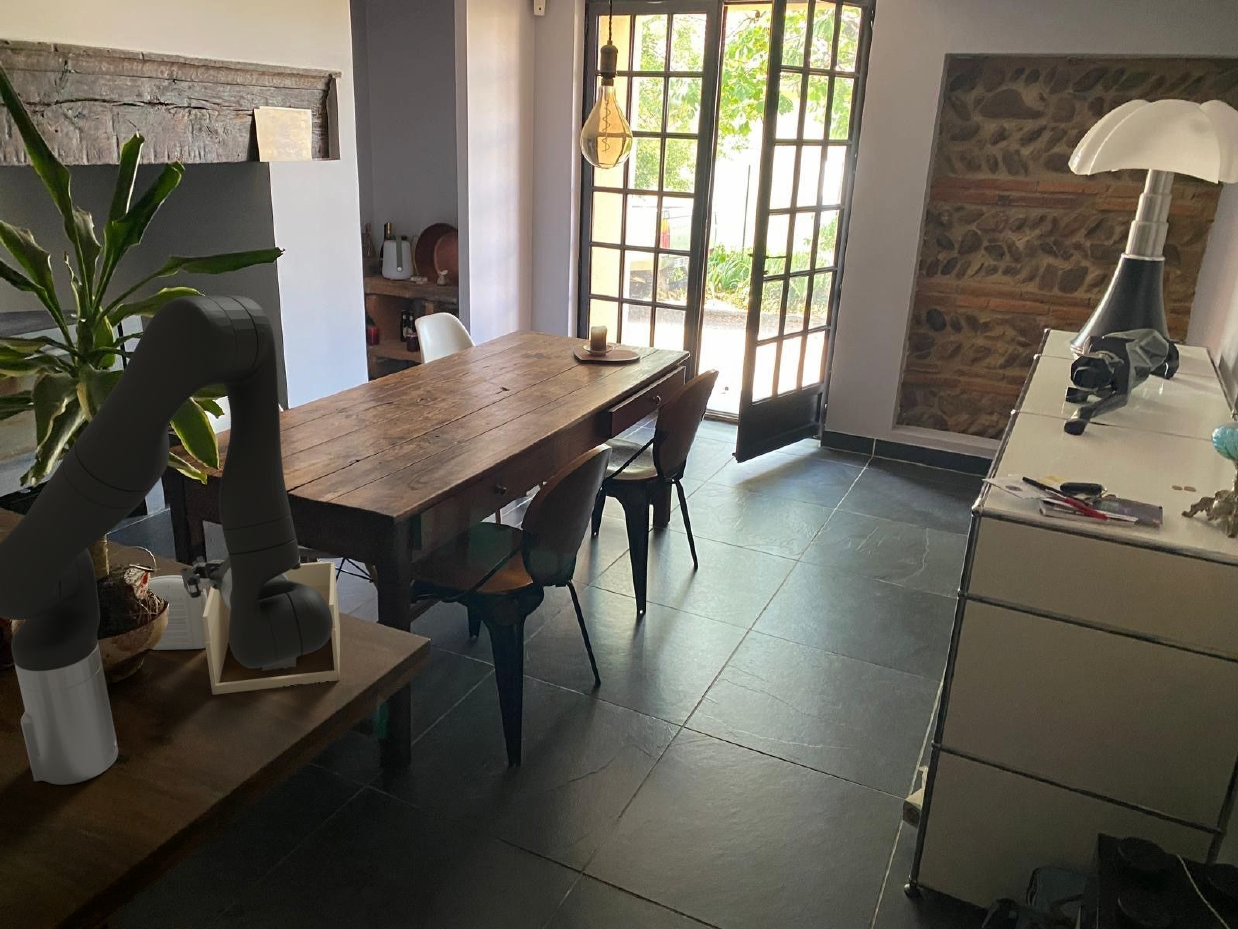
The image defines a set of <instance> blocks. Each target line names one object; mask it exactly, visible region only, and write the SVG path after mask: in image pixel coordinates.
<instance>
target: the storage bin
mask: <svg viewBox="0 0 1238 929" xmlns="http://www.w3.org/2000/svg"><path fill="white" fill-rule="evenodd" d="M300 565H301V568H299V569H297V570H292V569H290V570H289V571H287V572H285V575H286V576H287V579H288V580H289V581H293V582H297V583H301V584H304V585H307V586H309V587H311V588H313V589H314V590H316V591H317V592H318V593H319V594H320V595H321V596H322V597H323V598H324V600H325V601H326V603H327V604H328V606H329V608H330V611H331V614H332V619H333V628H332V633H331V645H332V656H333V669H334V670H325V671H318V672H317V671H316V672H308V673H299V674H289V675H281V676H280V675H279V676H273V677H272V676H271V677H262V678H254V679H252V678H251V679H246V680H243V679H242V680H236V681H227V682H225V681H224V682H221V676H222V672H223V668H224V663H225V660H226V655H227V649H228V646H229V621H230V612H231V611H230V610H229V608H228V607H226V605H225V603H224V601H223V597H222V596H221V594H220V592H219V590H216V589H214V588H212V587H209V588H210V589H209V593H208V596H207V603H206V606H205V610H204V613H203V624H204V631H205V638H206V642H205V644H206V648H205V650H206V657H207V663H208V664H207V665H208V671H209V672H208V673H209V679H210V686H211V694H212V695H220V694H221V695H223V694H230V693H240V692H248V691H257V690H265V689H276V688H283V686H285V687H291V686H290V685H294V686H296V685H295V684H303V685H311V684H318V682H320V683H326V681H329V682H336V681H340V666H341V665H340V662H341V661H340V660H341V658H340V656H341V653H340V652H341V650H340V649H341V626H340V623H341V622H340V611H339V599H338V598H339V597H338V585H337V576H336V575H337V574H336V572H337V571H336V563H335V562H332V561H328V560H327V561H320V562H317V561H316V562H306V563H300ZM315 682H316V683H315ZM310 683H311V684H310Z"/></svg>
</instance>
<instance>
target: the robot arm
mask: <svg viewBox="0 0 1238 929" xmlns="http://www.w3.org/2000/svg"><path fill="white" fill-rule="evenodd" d="M278 382H279V381H278V363H277V350H276V341H275V335H274V330H273V327H272V323H271V321H270V319H269V317H268V315H267V312H265V310H264V309H263V307H261V305H259V304H258V303H257V302H255V301H254V300H253V299H251V298H249V297H247V296H241V295H236V294H219V295H215V294H214V295H184V296H179V297H176V298H172V299H170V300H169V301H167V302H165V303H164V304H163V305H162V306H161V307H159V309H158V310H157V311H156V312H155V313H154V315H153V316H152V317H151V318H150V320H149V322H148V324H147V326H146V327H145V328H144V330H143V333H142V335H141V337H140V339H139V340H138V343H137V344H136V347H135V349H134V351H133V352H132V354H131V356H130V358H129V360H128V362H127V364H126V366H125V367H124V369H123V372H122V373H121V375H120V377H119V379H118V381H117V382H116V383H115V385H114V386H113V388H112V390H111V391H110V392H109V394H108V395H107V396H106V398H105V400H104V401H103V402H102V404H101V406H100V407H99V409H98V411H97V412H96V413H95V415H94V416H93V418H92V419H91V420H90V421H89V423H88V425H86V427H85V428H84V429H83V431H82V432H81V433H80V434H79V435H78V438H77V439H76V440H75V441H74V443H73V444H72V446H71V447H70V448H69V450H68V451H67V453H66V454H65V455H64V456H63V459H62V461H61V462H60V464H59V465H58V467H57V468H56V470H55V472H54V473H53V474H52V476H51V477H50V478H49V480H48V481H47V482H46V484H45V485H44V487H43V488H42V490H41V491H40V493H39V494H38V495H37V497H36V498H35V500H34V502H33V503H32V504H31V507H30V508H29V509H28V510H27V512H26V514H24V516H23V517H22V519H20V521H19V522H18V523H17V525H16V526H15V527H14V528H12V530H11V531H10V532H9V533H8V534H7V535H6V536H5V537H4V538H3V539H2V540H1V541H0V618H2V619H4V620H10V621H23V622H22V623H21V625H20V627H19V628H18V629H17V630H16V632H15V633H14V635H13V637H12V639H11V643H10V645H11V647H10V649H11V654H12V659H13V662H14V666H15V672H16V675H17V681H18V684H19V688H20V693H21V697H22V702H23V707H24V713H23V714H22V716H21V718H20V725H21V728H22V733H23V737H24V743H25V747H26V750H27V755H28V760H29V764H30V765H29V766H30V769H31V772H32V777H33V781H34V782H40V781H44V782H46V783H49V784H51V785H52V784H54V785H72V784H78V783H81V782H85V781H88V780H90V779H92V778H95V777H98V775H101V774H103V772H105V771H107V770H108V769H109V768H110V767H111V766H113V764H114V763H115V762H116V760H117V759H118V755H119V748H118V747H119V746H118V743H117V742H118V740H117V734H116V731H115V726H114V721H113V720H114V719H113V715H112V714H113V713H112V710H111V704H110V699H109V693H108V689H107V688H108V686H107V682H106V677H105V673H104V665H103V661H102V655H101V651H100V646H99V640H98V634H97V633H98V630H99V626H100V622H101V609H100V601H99V593H98V592H99V591H98V585H97V576H96V571H95V570H96V569H95V566H94V561H93V557H92V555H91V552H90V550H89V549H88V548H90V547H91V546H92V545H94V544H95V543H96V542H97V541H100V539H101V538H103V537H104V536H105V535H106V534H108V533H109V532H110V531H112V529H114V528H115V527H116V526H118V525H119V524H120V523H121V522H122V521H123V520H124V519H126V518H127V517H128V516H130V514H131V513H132V512H133V511H135V510H136V508H137V507H139V506H140V504H142V502H143V501H144V500H145V498H146V497H147V496H148V494H150V492H151V491H152V490H153V488H154V487H155V486H156V485H157V483H158V482H159V481H160V480H161V478H162V476H163V474H164V473H165V471H166V469H167V467H168V463H169V461H170V453H171V452H170V449H171V448H170V436H169V427H170V423H171V422H172V420H173V419H174V418H175V416H176V415H177V413H178V412H179V411H180V410H181V409H182V408H183V406H184V405H185V403H187V401H189V399H191V397H192V396H193V395H194V394H196V393H197V392H199V391H200V390H202V389H203V388H206V387H209V386H219V385H223V387H224V390H225V393H226V397H227V400H228V405H229V414H230V415H229V416H230V430H229V438H228V439H229V441H228V446H227V451H226V455H225V458H224V459H225V460H224V463H223V464H224V465H223V469H222V472H221V478H220V481H219V488H218V512H219V519H220V523H221V528H222V532H223V537H224V542H225V546H226V551H227V554H228V557H226V558H225V559H212V560H210V561H208V562H206V561H205V559H204V557H203V555H200V556H197V557H196V560H193V562H192V569H191V568H190V567H183V568H182V569H180V570H179V573H180V574H181V575H180V576H182V578H183V582H184V588H185V589H186V591H187V592H188V593H189V595H190V596H191V598H197V597H199V596H201V593H202V592H203V589H206V590H207V589H209V588H211V587H212V588H214V589H216V590H219V592H220V594H221V596H222V597H223V601H224V603H225V605H226V607H228V608H229V610H230V611H231V612H230V621H229V643H228V645H229V648H230V651H231V653H232V655H233V657H234V658H235V659H236V661H238V662H239V664H240V665H242V666H244V667H246V668H248V669H259V668H262V667H264V666H267V665H270V664H274V663H277V662H280V661H284V660H287V659H290V658H294V657H297V658H298V657H300V656H304V655H307V654H310V653H313V652H315V651H318V650H320V649H321V648H322V647H324V646H325V645H326V644H327V643H328V641H329V640H330V638H331V637H332V635H331V633H332V628H333V619H332V614H331V611H330V608H329V606H328V604H327V603H326V601H325V600H324V598H323V597H322V596H321V595H320V594H319V593H318V592H317V591H316V590H314V589H313V588H311V587H309V586H307V585H304V584H301V583H297V582H293V581H289V580H288V579H287V576H286V575H285V572H287V571H289V570H290V569H292V570H297V569H299V568H301V565H300V564H301V561H300V549H299V545H298V543H299V542H298V539H297V535H296V532H295V531H296V529H295V526H294V522H293V517H292V512H291V506H290V503H289V502H290V501H289V497H288V492H287V486H286V481H285V475H284V474H285V473H284V468H283V456H282V445H281V422H280V401H279V399H280V398H279V383H278Z"/></svg>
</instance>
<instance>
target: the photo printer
mask: <svg viewBox="0 0 1238 929" xmlns="http://www.w3.org/2000/svg"><path fill="white" fill-rule="evenodd" d="M149 579H150V580H151V581H148V586H149V589H151V592H152V593H153V594H154V595H155V596H158V597H159V598H161V599H164V600H165V601H167V602H169V614H168V624H167V626H166V629H165V631H164V634H163V635H162V637H161V640H160V641H159V643H158V644H157V645H156V646H155V647H154V648H153V650H154V651H160V650H161V651H164V650H165V651H167V650H168V651H169V650H170V651H171V650H172V651H173V650H194V649H195V650H198V649H200V650H201V649H206V644H205V642H206V638H205V631H204V624H203V613H204V610H205V606H206V603H207V599H208V596H207V588H206V589H203V592H202V593H201V596H199V597H197V598H191V596H190V595H189V593H188V592H187V591H186V589H185V588H184V582H183V578H182V575H178V574H177V575H172V574H171V575H162V576H161V575H160V576H154V577H150V578H149ZM153 650H152V651H153Z"/></svg>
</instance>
